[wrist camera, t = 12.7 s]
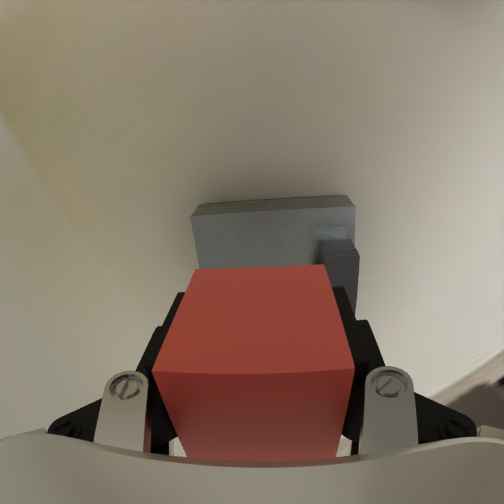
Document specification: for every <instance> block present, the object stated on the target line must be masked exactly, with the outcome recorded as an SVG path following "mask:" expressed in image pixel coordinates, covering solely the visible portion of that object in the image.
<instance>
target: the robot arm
mask: <svg viewBox="0 0 504 504" xmlns="http://www.w3.org/2000/svg"><path fill="white" fill-rule="evenodd" d="M332 290H333V294H334V297H335V300H336V303H337V307H338V310H339V313H340V317H341V320H342V323H343V327H344V330H345V334H346V337H347V341H348V344H349V348H350V351H351V355H352V359H353V362H354V366H355V372H354V377H353V382H352V387H351V392H350V397H349V402H348V407H347V411H346V416H345V420H344V425H343V429H342V433H341V435H343V436H345V437H346V438H348V439H350V447H349V456H344V457H334V458H323V459H310V460H290V461H231V460H212V459H199V458H188V457H177V456H174V449H173V439H174V438H176V437H178V435H177V433H176V431H175V428H174V426H173V424H172V421H171V419H170V417H169V414H168V412H167V409H166V407H165V404H164V402H163V399H162V397H161V394H160V392H159V389H158V386H157V384H156V381H155V378H154V376H153V373H152V369H153V366H154V364H155V361H156V359H157V357H158V354H159V352H160V349H161V347H162V345H163V342H164V340H165V338H166V335H167V333H168V331H169V328H170V326H171V324H172V322H173V319H174V317H175V315H176V312H177V310H178V308H179V306H180V303H181V301H182V299H183V297H184V294H185V292H179V293H178V294H177V296H176V298H175V300H174V302H173V304H172V306H171V308H170V310H169V312H168V315H167V317H166V319H165V321H164V323H163V325H162V326H158V327H157V328H156V329H155V331H154V333H153V335H152V337H151V339H150V341H149V343H148V346H147V347H146V350H145V352H144V354H143V356H142V358H141V360H140V362H139V365H138V367H137V369H136V371H124V372H121V373H118V374H116V375H114V376H113V377H112V378H110V380H109V381H108V382H107V384H106V386H105V389H104V394H103V398H101V399H99V400H97V401H95V402H93V403H91V404H89V405H87V406H84V407H82V408H80V409H78V410H76V411H73V412H71V413H69V414H67V415H65V416H62V417H60V418H58V419H57V420H55V421H54V422H53V423H52V424H51V425H50V427H49V429H48V430H46V429H45V428H40V429H37V430H33V431H29V432H25V433H21V434H17V435H13V436H9V437H5V438H2V439H0V504H504V430H501V429H497V428H493V427H489V426H485V425H482V426H481V428H477V427H476V426H475V423H474V422H473V421H472V420H471V419H470V418H469V417H467V416H466V415H464V414H462V413H459V412H457V411H455V410H452V409H450V408H448V407H446V406H444V405H441V404H439V403H437V402H435V401H433V400H430V399H428V398H426V397H424V396H422V395H419V394H417V393H415V392H414V388H413V382H412V379H411V377H410V376H409V375H408V373H406V372H405V371H403V370H402V369H399V368H397V367H391V366H385V363H384V361H383V358H382V355H381V353H380V350H379V347H378V345H377V342H376V340H375V337H374V335H373V332H372V330H371V327H370V325H369V322H368V321H367V320H356V318H355V315H354V313H353V310H352V307H351V304H350V302H349V299H348V296H347V294H346V291H345V288H344V286H338V287H332Z"/></svg>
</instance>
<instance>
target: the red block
mask: <svg viewBox="0 0 504 504" xmlns="http://www.w3.org/2000/svg"><path fill="white" fill-rule="evenodd" d="M354 372H355V366H354V362H353V359H352V355H351V351H350V348H349V344H348V341H347V337H346V334H345V330H344V327H343V323H342V320H341V317H340V313H339V310H338V307H337V303H336V300H335V297H334V294H333V290H332V287H331V284H330V281H329V278H328V275H327V271H326V268H325V265H324V264H318V265H296V266H273V267H248V268H221V269H196V270H195V272H194V274H193V277H192V279H191V281H190V283H189V285H188V288H187V290H186V292H185V294H184V297H183V299H182V301H181V303H180V306H179V308H178V310H177V312H176V315H175V317H174V319H173V322H172V324H171V326H170V328H169V331H168V333H167V335H166V338H165V340H164V342H163V345H162V347H161V349H160V352H159V354H158V357H157V359H156V361H155V364H154V366H153V369H152V373H153V376H154V378H155V381H156V384H157V386H158V389H159V392H160V394H161V397H162V399H163V402H164V404H165V407H166V409H167V412H168V414H169V417H170V419H171V421H172V424H173V426H174V428H175V431H176V433H177V435H178V438H179V440H180V442H181V444H182V446H183V449H184V451H185V453H186V455H187V457H188V458H199V459H212V460H231V461H290V460H310V459H323V458H334V457H336V453H337V449H338V445H339V441H340V437H341V433H342V429H343V425H344V420H345V416H346V411H347V407H348V402H349V397H350V392H351V387H352V382H353V377H354Z"/></svg>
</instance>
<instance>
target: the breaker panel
mask: <svg viewBox="0 0 504 504" xmlns="http://www.w3.org/2000/svg"><path fill="white" fill-rule="evenodd" d="M191 221H192V227H193V233H194V239H195V245H196V250H197V256H198V262H199V267H200V269H221V268H248V267H273V266H296V265H318V264H324V265H325V268H326V271H327V275H328V278H329V281H330V284H331V287H338V286H344V288H345V291H346V294H347V296H348V299H349V302H350V304H351V307H352V310H353V313H354V315H355V310H356V299H357V287H358V274H359V259H360V256H359V254H358V252H357V250H356V248H355V246H354V232H355V206H354V205H353V203H352V202H351V201H350V199H349V198H348V197H347V196H323V197H302V198H283V199H267V200H252V201H238V202H225V203H213V204H201V205H199V206H198V207H197V209H196V210H195V211H194V213H193V214H192V216H191Z"/></svg>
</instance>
